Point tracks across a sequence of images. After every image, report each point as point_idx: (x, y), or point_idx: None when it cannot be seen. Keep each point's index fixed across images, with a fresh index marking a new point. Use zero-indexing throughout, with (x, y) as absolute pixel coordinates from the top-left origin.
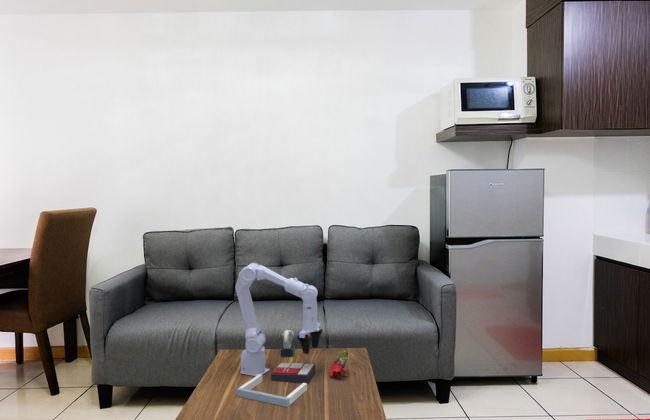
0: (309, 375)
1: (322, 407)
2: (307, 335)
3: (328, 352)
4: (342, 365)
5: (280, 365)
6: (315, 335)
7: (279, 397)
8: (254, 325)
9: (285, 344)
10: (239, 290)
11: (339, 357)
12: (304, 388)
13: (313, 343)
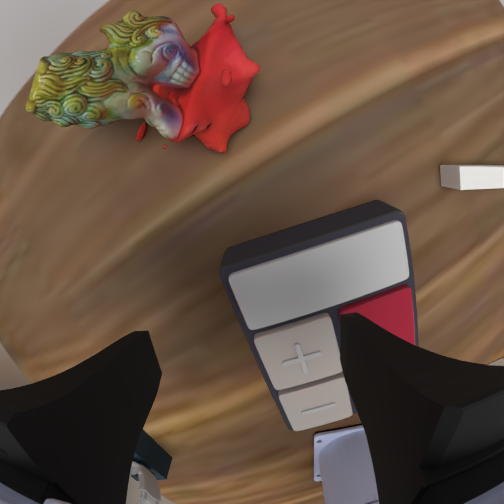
0: (361, 216)
1: (500, 44)
2: (440, 492)
3: (13, 325)
4: (183, 39)
5: (329, 416)
6: (95, 438)
7: None
8: None
9: (154, 488)
10: None
11: (125, 80)
12: (470, 165)
13: (144, 388)
